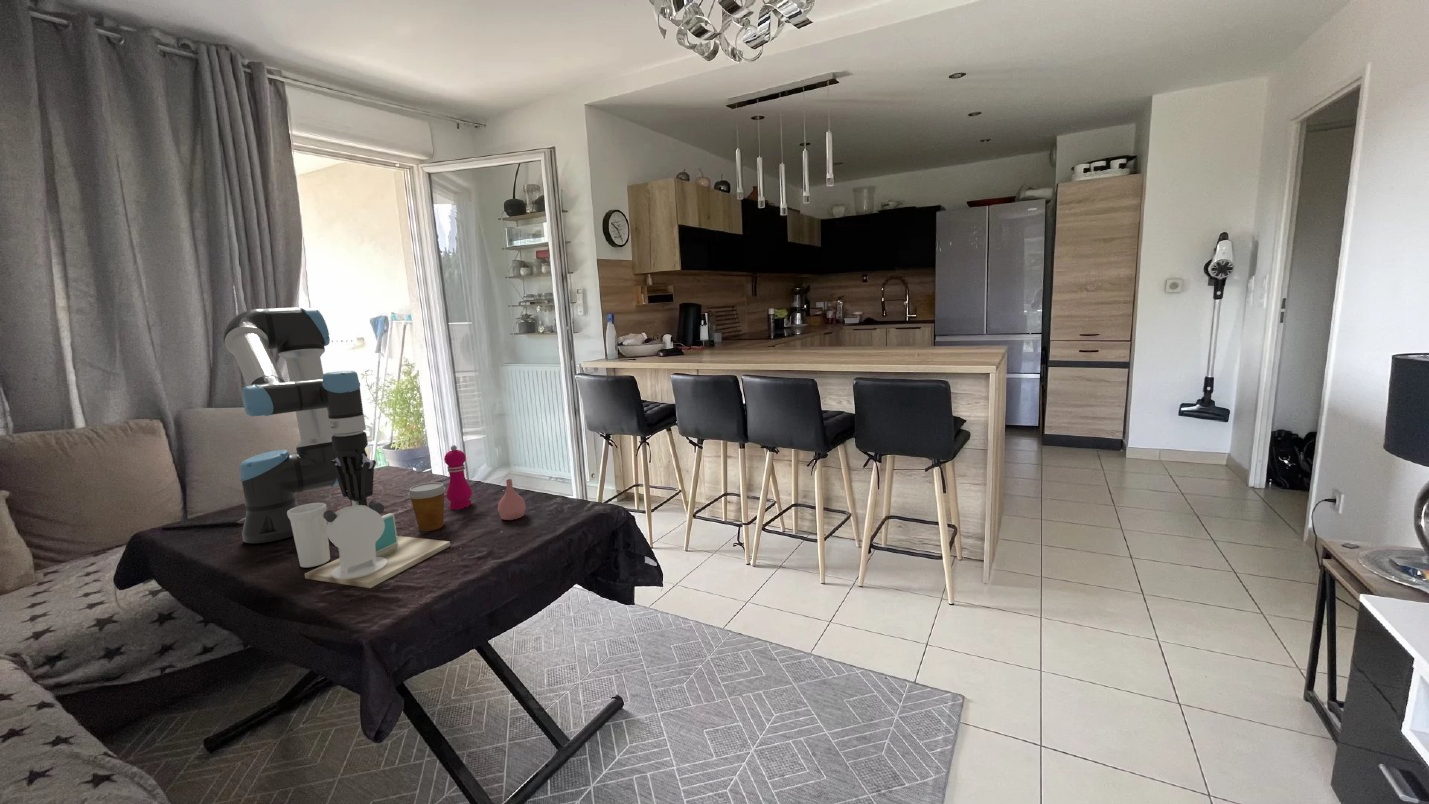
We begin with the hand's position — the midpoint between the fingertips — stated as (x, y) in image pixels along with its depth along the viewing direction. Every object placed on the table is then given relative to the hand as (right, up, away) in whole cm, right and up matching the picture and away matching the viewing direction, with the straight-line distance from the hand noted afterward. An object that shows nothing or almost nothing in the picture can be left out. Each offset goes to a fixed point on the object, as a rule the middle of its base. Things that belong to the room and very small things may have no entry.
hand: (361, 523), depth 151 cm
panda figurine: (+7, -8, -12) cm, 16 cm away
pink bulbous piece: (+32, -3, +20) cm, 38 cm away
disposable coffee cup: (+10, -5, +17) cm, 20 cm away
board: (+8, -8, -6) cm, 13 cm away
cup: (-8, -9, -5) cm, 13 cm away
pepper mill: (+11, -2, +33) cm, 35 cm away
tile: (+6, -6, -1) cm, 9 cm away
